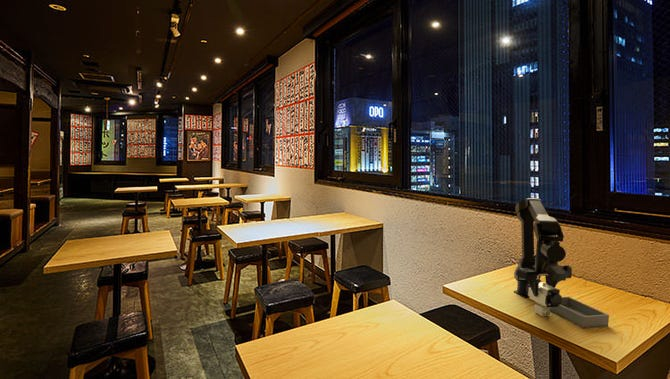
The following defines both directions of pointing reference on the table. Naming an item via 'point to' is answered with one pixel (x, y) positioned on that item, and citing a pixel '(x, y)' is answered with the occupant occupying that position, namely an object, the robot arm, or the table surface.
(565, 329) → the table surface
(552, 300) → the pneumatic valve
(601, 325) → the bin
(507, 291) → the table surface
